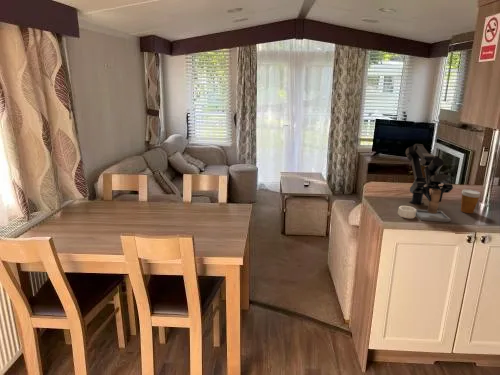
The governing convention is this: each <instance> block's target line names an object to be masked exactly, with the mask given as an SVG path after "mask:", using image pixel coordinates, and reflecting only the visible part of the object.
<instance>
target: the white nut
mask: <svg viewBox="0 0 500 375" xmlns="http://www.w3.org/2000/svg"><path fill="white" fill-rule="evenodd" d="M417 210H418V209H417ZM417 210H416V208H415V207H413V206H410V205H409V206H408V205H400V206H399V207H398V210H397V215H398V216H399V217H401V218H405V219H414V218H416V217H417V215H416V211H417Z"/></svg>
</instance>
